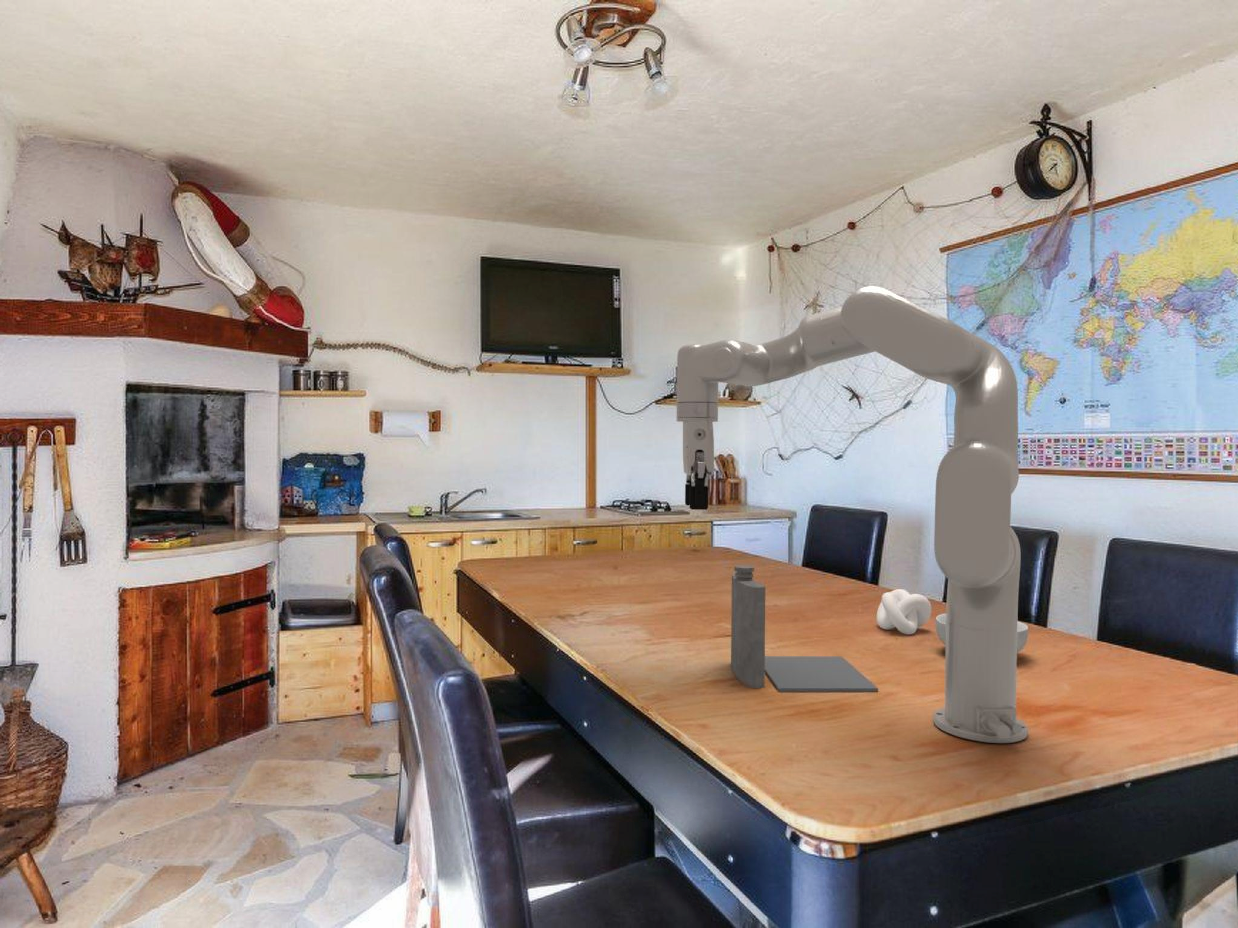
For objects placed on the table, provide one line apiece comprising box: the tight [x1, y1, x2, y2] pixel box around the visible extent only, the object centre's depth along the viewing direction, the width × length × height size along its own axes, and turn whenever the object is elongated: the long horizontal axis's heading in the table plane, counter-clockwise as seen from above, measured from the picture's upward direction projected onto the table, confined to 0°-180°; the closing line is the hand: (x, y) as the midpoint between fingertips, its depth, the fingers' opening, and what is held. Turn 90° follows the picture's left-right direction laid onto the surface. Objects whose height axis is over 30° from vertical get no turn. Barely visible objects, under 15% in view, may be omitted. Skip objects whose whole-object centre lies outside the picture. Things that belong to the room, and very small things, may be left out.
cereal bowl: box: [935, 613, 1029, 654], centre depth 153 cm, size 17×17×7 cm
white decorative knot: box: [875, 588, 932, 636], centre depth 174 cm, size 11×12×9 cm
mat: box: [765, 655, 879, 693], centre depth 139 cm, size 20×17×1 cm
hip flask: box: [730, 564, 766, 689], centre depth 139 cm, size 16×4×20 cm, turn 3°
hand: (696, 507), depth 139 cm, fingers open, 9 cm apart
